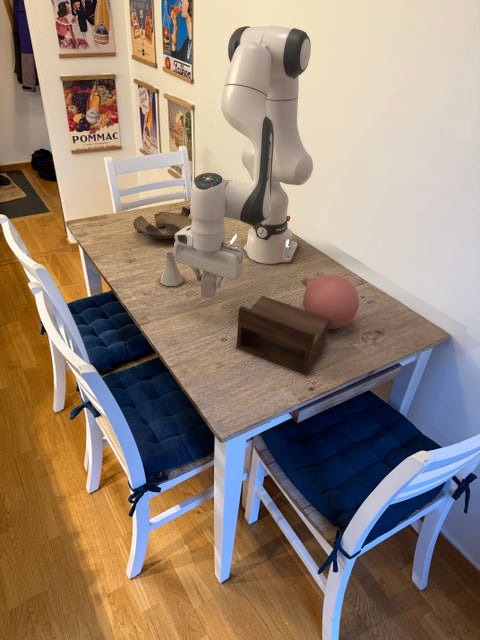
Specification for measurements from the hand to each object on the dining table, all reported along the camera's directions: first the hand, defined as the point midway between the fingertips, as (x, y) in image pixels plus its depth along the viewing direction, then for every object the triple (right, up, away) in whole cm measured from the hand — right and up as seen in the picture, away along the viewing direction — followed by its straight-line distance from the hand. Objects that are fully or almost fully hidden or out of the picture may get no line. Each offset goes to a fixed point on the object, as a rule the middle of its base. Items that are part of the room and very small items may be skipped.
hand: (207, 283), depth 123 cm
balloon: (+33, -10, +7) cm, 35 cm away
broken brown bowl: (-18, +24, +48) cm, 56 cm away
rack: (+20, -18, -4) cm, 27 cm away
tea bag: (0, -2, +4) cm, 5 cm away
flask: (-13, +2, +19) cm, 23 cm away
